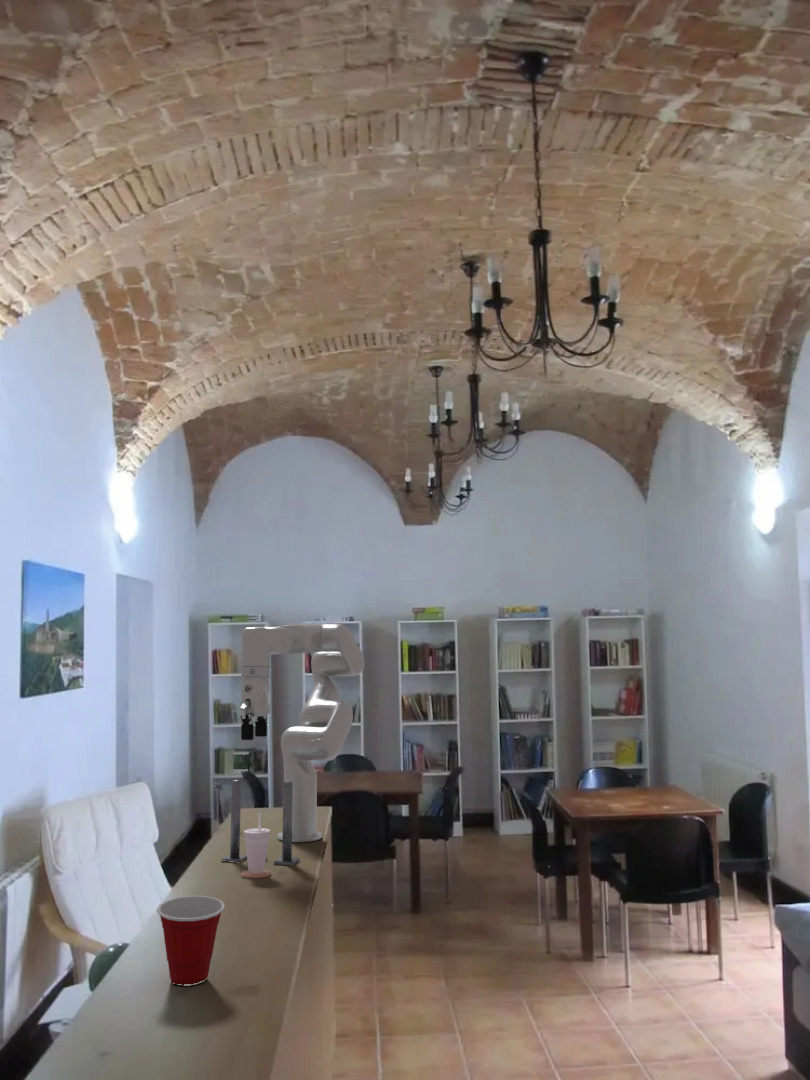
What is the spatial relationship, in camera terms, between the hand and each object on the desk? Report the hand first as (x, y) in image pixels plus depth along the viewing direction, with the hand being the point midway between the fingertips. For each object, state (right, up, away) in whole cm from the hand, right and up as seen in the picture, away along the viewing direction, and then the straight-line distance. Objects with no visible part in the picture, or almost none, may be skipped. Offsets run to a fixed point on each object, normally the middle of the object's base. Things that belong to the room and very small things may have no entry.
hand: (254, 738), depth 246 cm
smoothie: (+5, -27, -25) cm, 37 cm away
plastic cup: (+5, -19, -96) cm, 98 cm away
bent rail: (+4, -29, -14) cm, 32 cm away
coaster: (+5, -28, -25) cm, 37 cm away
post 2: (+10, -29, -12) cm, 33 cm away
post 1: (-3, -29, -9) cm, 31 cm away
